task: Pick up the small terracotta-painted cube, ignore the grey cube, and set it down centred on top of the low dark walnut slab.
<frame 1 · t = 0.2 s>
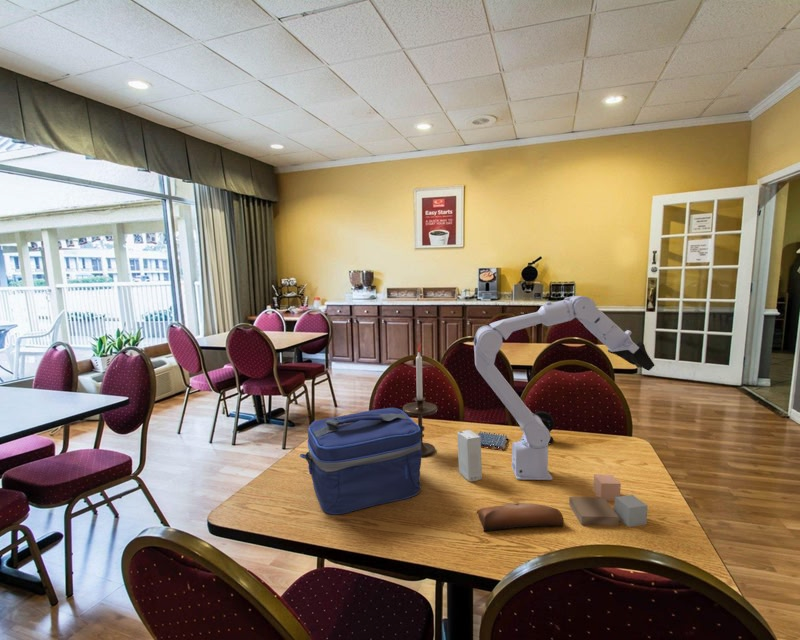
hand: (643, 364, 107), 31 cm above the table, tool tilted 45°, fingers open, 7 cm apart
walnut slab: (592, 516, 94), on the table
grey cube: (630, 520, 91), on the table
woven mat: (490, 444, 135), on the table
skincare box: (469, 476, 113), on the table
sunglasses case: (517, 521, 93), on the table
webcam: (541, 441, 136), on the table
terracotta cube: (606, 496, 101), on the table
lunch bag: (365, 488, 108), on the table
candlestick: (420, 451, 130), on the table
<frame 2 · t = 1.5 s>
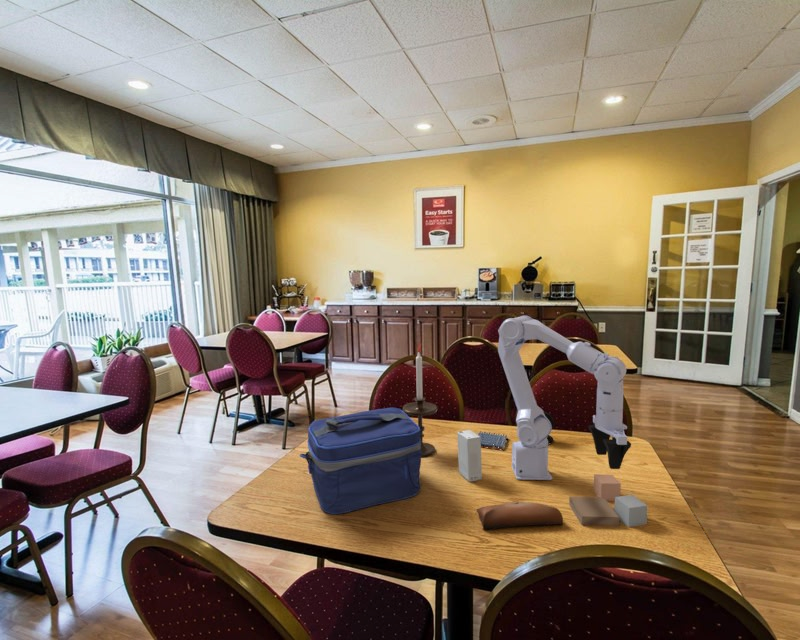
hand: (607, 461, 100), 9 cm above the table, tool pointing down, fingers open, 7 cm apart
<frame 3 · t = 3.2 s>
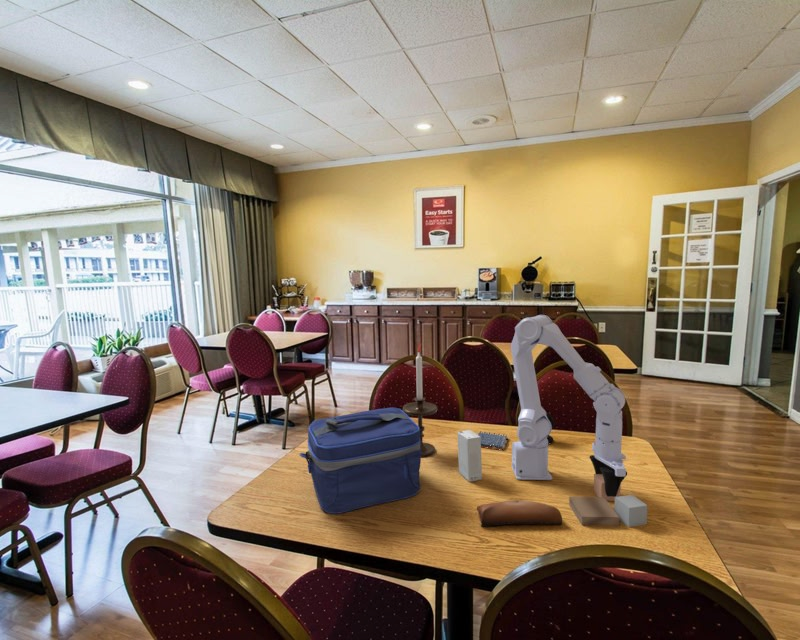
hand: (606, 490, 101), 1 cm above the table, tool pointing down, fingers closed on terracotta cube, 4 cm apart
terracotta cube: (606, 495, 101), on the table, touching gripper
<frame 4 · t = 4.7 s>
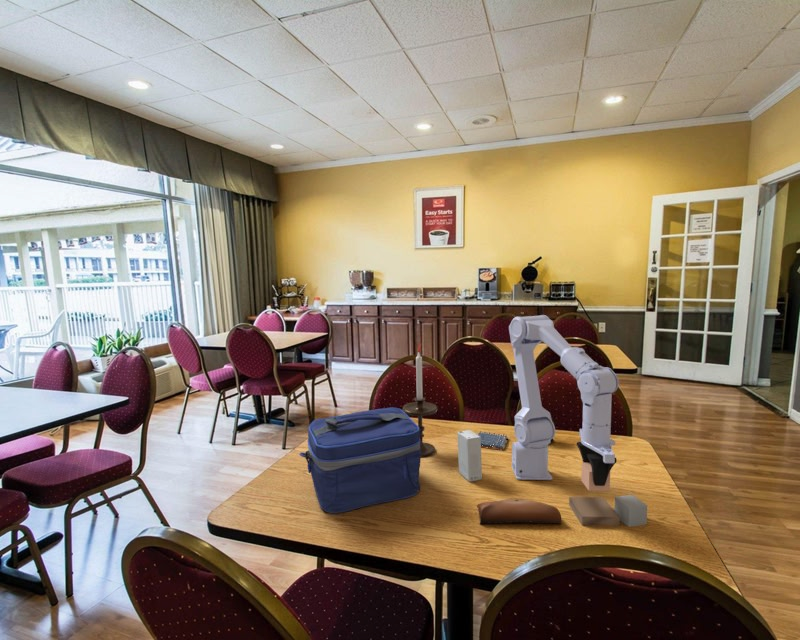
hand: (594, 479, 93), 8 cm above the table, tool pointing down, fingers closed on terracotta cube, 4 cm apart
terracotta cube: (595, 485, 93), point 7 cm above the table, touching gripper
when the fingers open (5 cm above the table, at t = 6.3 s): terracotta cube drops 1 cm, point 2 cm above the table.
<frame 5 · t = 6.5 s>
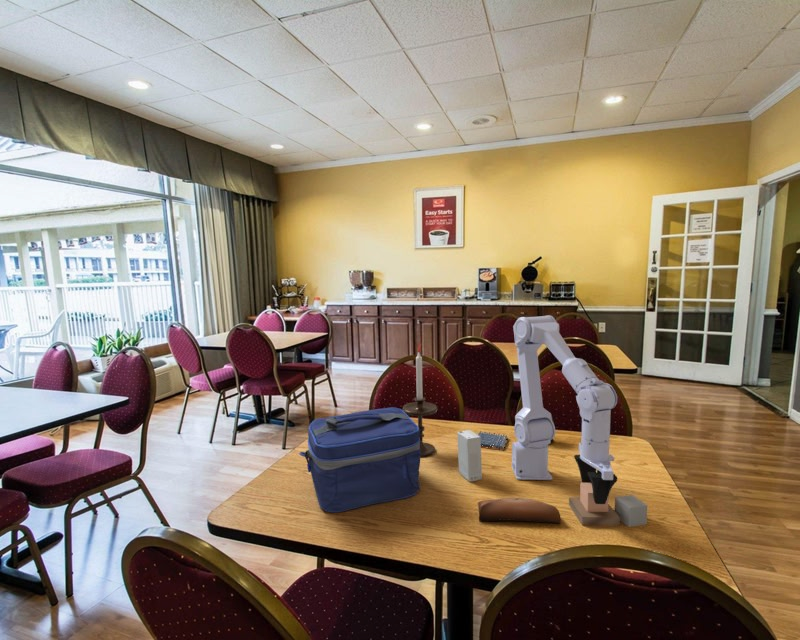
hand: (593, 494, 93), 5 cm above the table, tool pointing down, fingers open, 6 cm apart
terracotta cube: (593, 506, 93), point 2 cm above the table
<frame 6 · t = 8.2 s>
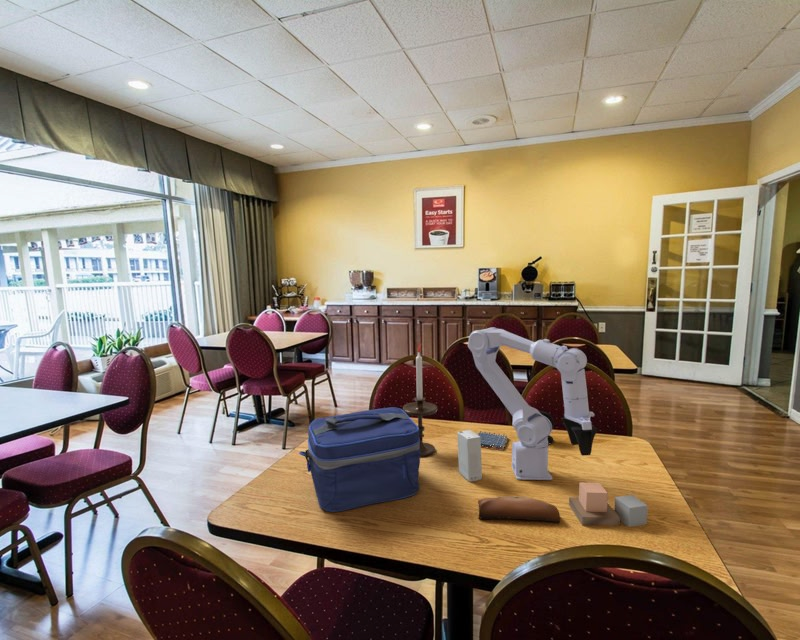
hand: (580, 449, 104), 10 cm above the table, tool pointing down, fingers open, 7 cm apart
walnut slab: (592, 517, 94), on the table, touching terracotta cube
terracotta cube: (592, 506, 94), point 2 cm above the table, touching walnut slab
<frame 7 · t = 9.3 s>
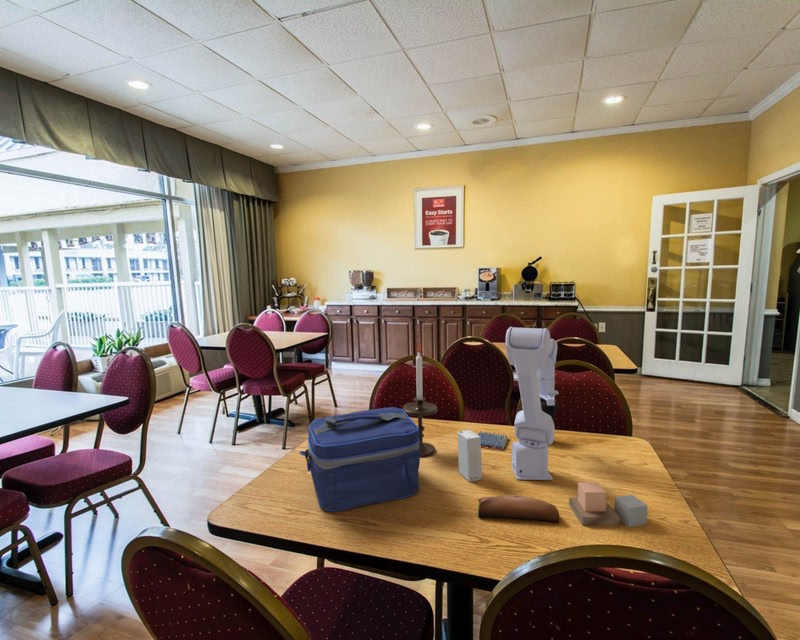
hand: (544, 420, 125), 10 cm above the table, tool pointing down, fingers open, 7 cm apart
walnut slab: (592, 517, 94), on the table
terracotta cube: (591, 505, 94), point 2 cm above the table
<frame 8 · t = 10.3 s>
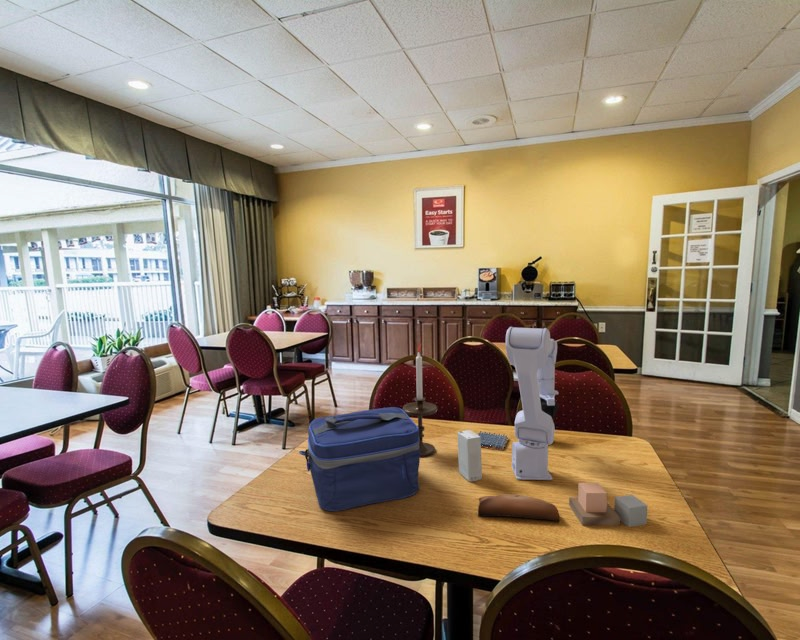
hand: (544, 420, 125), 10 cm above the table, tool pointing down, fingers open, 7 cm apart
walnut slab: (593, 517, 94), on the table, touching terracotta cube
terracotta cube: (591, 506, 93), point 2 cm above the table, touching walnut slab
at the end: terracotta cube 0.1 cm off-centre on the walnut slab, point 2.5 cm above the walnut slab's base; terracotta cube tilted 0°; the gripper is holding nothing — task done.
